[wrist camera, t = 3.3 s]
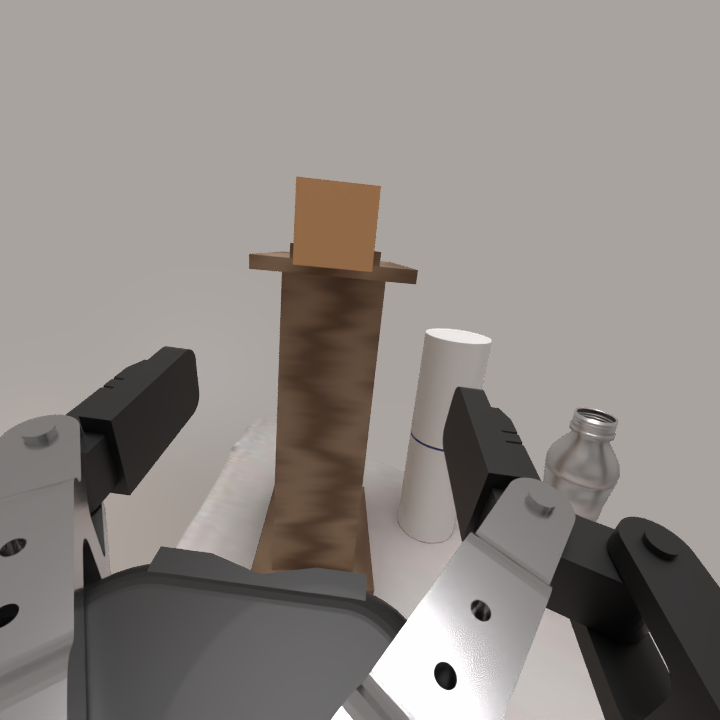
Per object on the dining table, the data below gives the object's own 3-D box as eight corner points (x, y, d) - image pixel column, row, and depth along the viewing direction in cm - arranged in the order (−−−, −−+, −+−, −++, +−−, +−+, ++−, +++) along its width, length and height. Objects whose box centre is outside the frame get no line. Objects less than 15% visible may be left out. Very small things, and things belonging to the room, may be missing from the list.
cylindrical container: (396, 501, 51) (422, 326, 44) (447, 507, 51) (482, 332, 44) (399, 539, 44) (430, 339, 37) (458, 546, 44) (500, 347, 37)
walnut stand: (362, 499, 51) (390, 253, 42) (371, 606, 36) (419, 256, 26) (275, 494, 50) (283, 242, 41) (246, 603, 35) (249, 239, 25)
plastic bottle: (502, 559, 43) (542, 402, 37) (548, 550, 45) (593, 400, 39) (543, 610, 37) (599, 433, 31) (594, 597, 39) (654, 428, 34)
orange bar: (356, 259, 38) (359, 218, 37) (372, 271, 19) (380, 186, 18) (317, 255, 37) (319, 214, 36) (292, 264, 18) (296, 176, 17)
